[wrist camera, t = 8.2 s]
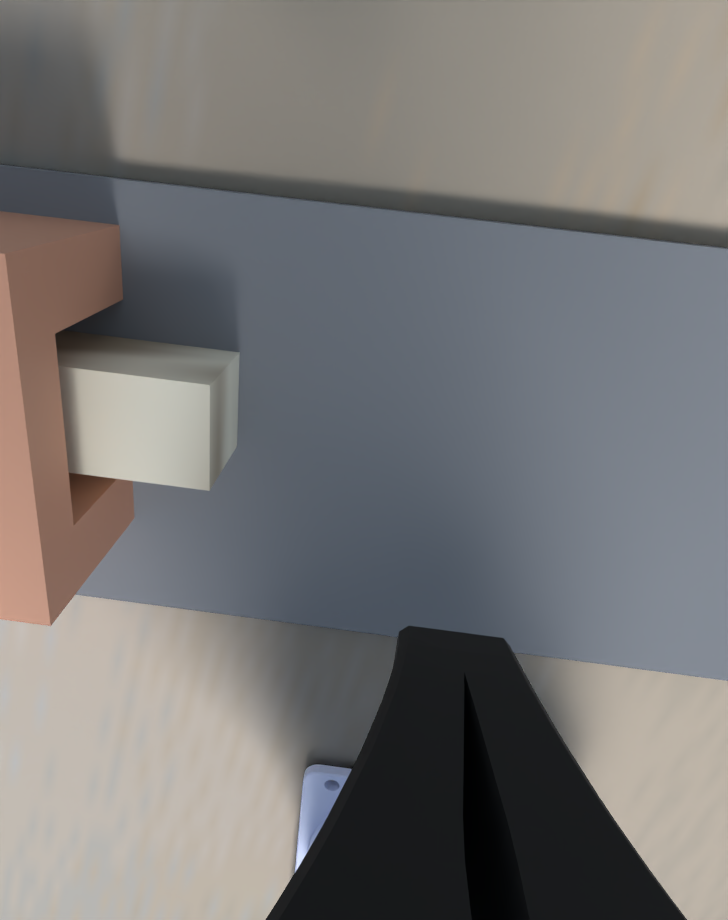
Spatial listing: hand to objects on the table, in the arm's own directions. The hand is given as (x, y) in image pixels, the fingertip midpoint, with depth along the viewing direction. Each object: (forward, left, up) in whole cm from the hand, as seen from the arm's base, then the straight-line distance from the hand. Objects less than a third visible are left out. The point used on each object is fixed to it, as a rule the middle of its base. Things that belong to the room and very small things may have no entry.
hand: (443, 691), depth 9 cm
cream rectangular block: (+11, 0, -9) cm, 15 cm away
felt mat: (+6, +1, -10) cm, 11 cm away
